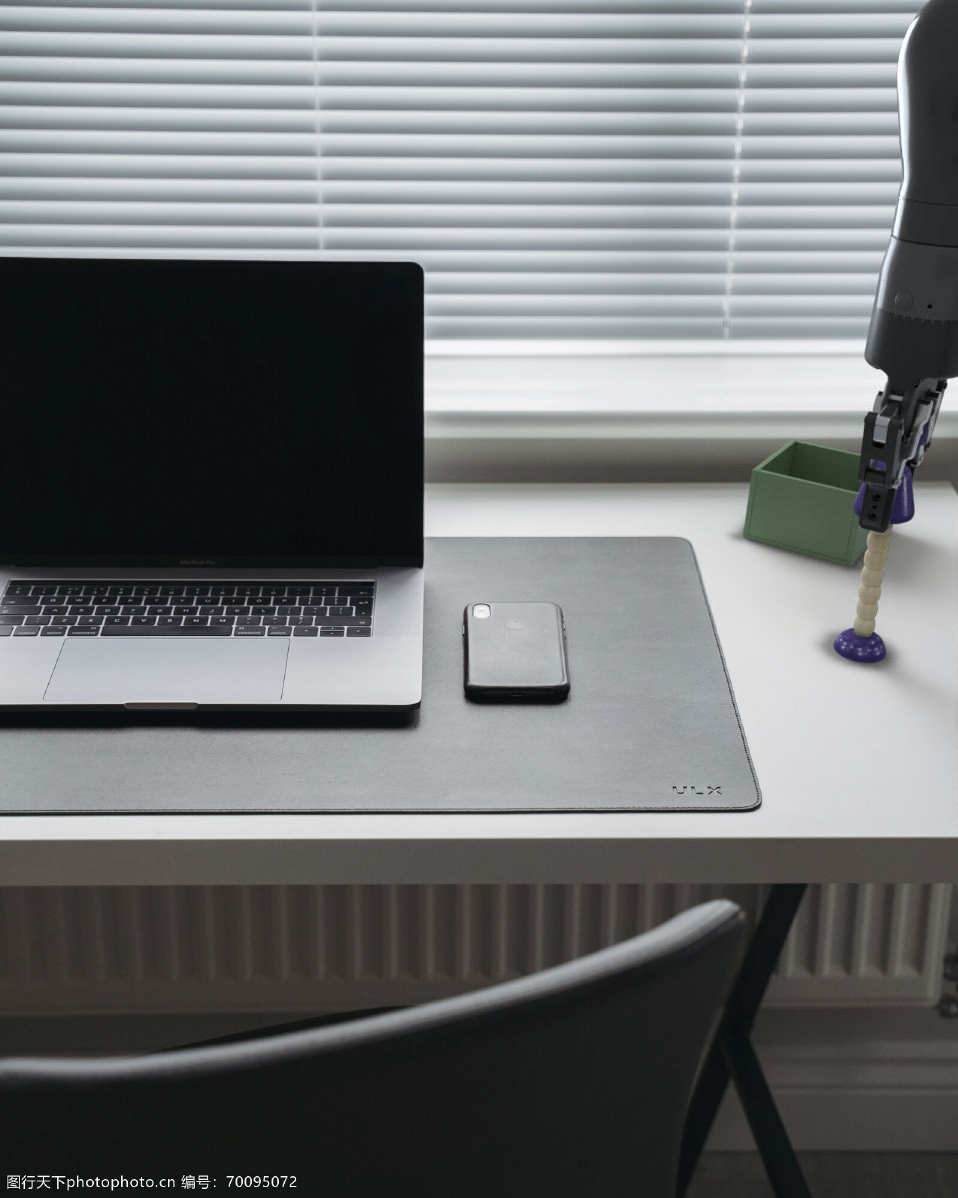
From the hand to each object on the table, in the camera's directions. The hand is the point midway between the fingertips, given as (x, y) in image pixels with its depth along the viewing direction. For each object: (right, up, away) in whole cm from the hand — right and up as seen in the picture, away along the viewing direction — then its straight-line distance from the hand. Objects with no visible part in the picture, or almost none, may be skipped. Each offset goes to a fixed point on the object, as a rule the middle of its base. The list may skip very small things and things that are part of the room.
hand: (883, 517), depth 88 cm
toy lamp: (0, -11, +6) cm, 13 cm away
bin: (+3, 0, +27) cm, 27 cm away
